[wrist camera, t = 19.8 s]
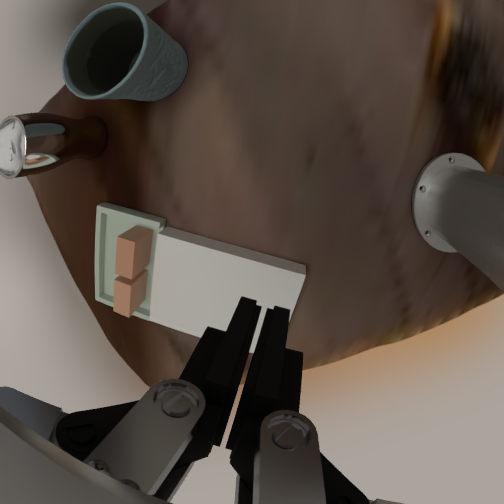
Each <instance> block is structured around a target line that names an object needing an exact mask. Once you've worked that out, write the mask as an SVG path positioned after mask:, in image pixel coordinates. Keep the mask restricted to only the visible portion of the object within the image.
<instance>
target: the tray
mask: <svg viewBox="0 0 504 504" xmlns="http://www.w3.org/2000/svg"><path fill="white" fill-rule="evenodd" d="M136 225H139V226H143V227H146V228H149V229H153V236H152V244H151V253H150V261H149V265H148V266H146V267H145V268H144V269H147V270H148V275H147V284H146V295H145V300H144V301H143V303H142V304H141V305H140V306H139V307H138V308H137V309H136V311H135V312H134V313H133V314H132V315H135V316H137V317H140V318H143V319H145V320H148V321H150V320H149V319H150V304H151V291H152V280H153V270H154V260H155V251H156V243H157V235H158V233H159V232H160V231H162V230H163V229H165V225H166V218H162V217H159V216H155V215H151V214H148V213H144V212H140V211H136V210H133V209H129V208H125V207H121V206H118V205H114V204H110V203H106V202H104V203H102V204H99V205H97V215H96V234H95V299H96V300H97V301H100V302H102V303H104V304H107V305H109V306H112V307H114V279H116V278H117V277H118V276H119V275H118V274H115V263H116V246H117V236H119V235H121V234H122V233H124V232H126V231H127V230H129V229H131V228H132V227H134V226H136Z"/></svg>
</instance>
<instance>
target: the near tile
mask: <svg viewBox="0 0 504 504" xmlns="http://www.w3.org/2000/svg"><path fill="white" fill-rule="evenodd" d="M152 236H153V229H149V228H146V227H143V226H139V225H136V226H134V227H132V228H131V229H129V230H127V231H126V232H124V233H122V234H121V235H119V236H117V246H116V263H115V274H118V275H120V276H123V277H126V278H128V279H131V280H132V279H133V278H134V277H135V276H137V275H138V274H139V273H140V272H141V271H142V270H143V269H144V268H145V267H146V266H148V265H149V261H150V253H151V244H152Z"/></svg>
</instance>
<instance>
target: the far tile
mask: <svg viewBox="0 0 504 504" xmlns="http://www.w3.org/2000/svg"><path fill="white" fill-rule="evenodd" d="M147 275H148V270H147V269H143V270H142V271H141V272H140V273H139V274H138V275H137V276H135V277H134V278H133V279H132V280H131V279H128V278H126V277H123V276H120V275H119V276H118V277H117V278H116V279H114V312H117V313H119V314H122V315H124V316H126V317H130V316H131V315H132V314H133V313H134V312H135V311H136V309H137V308H138V307H139V306H140V305H141V304H142V303H143V301H144V300H145V295H146V284H147Z"/></svg>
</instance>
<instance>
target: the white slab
mask: <svg viewBox="0 0 504 504" xmlns="http://www.w3.org/2000/svg"><path fill="white" fill-rule="evenodd" d="M305 277H306V266H305V265H303V264H299V263H296V262H292V261H289V260H285V259H282V258H278V257H275V256H271V255H267V254H264V253H260V252H257V251H253V250H250V249H246V248H242V247H239V246H235V245H232V244H228V243H225V242H221V241H217V240H214V239H210V238H207V237H203V236H200V235H196V234H192V233H189V232H185V231H182V230H178V229H175V228H171V227H166V228H165V229H163V230H162V231H160V232H159V233H158V235H157V243H156V251H155V260H154V270H153V280H152V291H151V304H150V319H149V320H150V321H153V322H156V323H159V324H162V325H164V326H167V327H170V328H173V329H176V330H179V331H182V332H185V333H188V334H191V335H194V336H197V337H200V338H201V337H202V335H203V333H204V331H205V329H206V328H207V327H208V326H209V327H213V328H216V329H219V330H222V331H226V330H227V328H228V325H229V323H230V321H231V319H232V316H233V314H234V312H235V309H236V307H237V305H238V302H239V300H240V298H241V296H243V297H246V298H250V299H254V300H257V303H256V305H259V306H262V309H261V312H260V316H259V319H258V323H257V326H256V330H255V333H254V337H253V340H252V344H251V347H250V351H249V352H251V353H254V350H255V347H256V344H257V341H258V337H259V334H260V331H261V327H262V324H263V320H264V317H265V314H266V310H267V308H270V309H273V308H274V306H279V307H283V308H287V309H290V317H289V321H290V318H291V316H292V313H293V310H294V307H295V305H296V302H297V299H298V296H299V294H300V291H301V288H302V285H303V283H304V280H305Z"/></svg>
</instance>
